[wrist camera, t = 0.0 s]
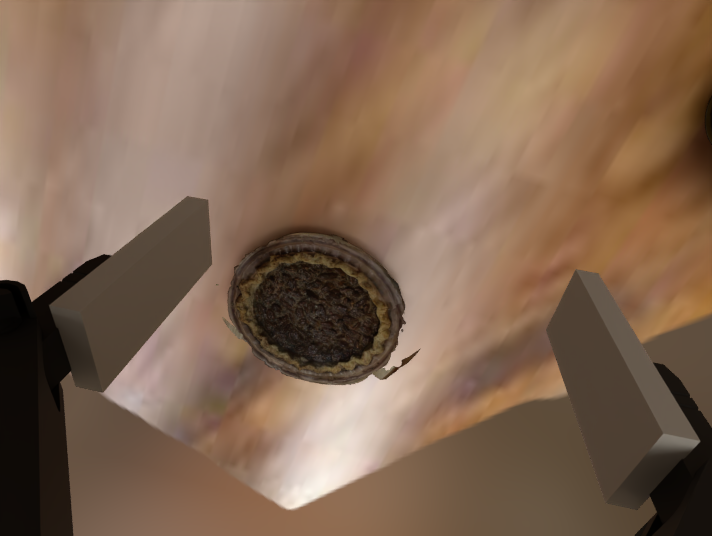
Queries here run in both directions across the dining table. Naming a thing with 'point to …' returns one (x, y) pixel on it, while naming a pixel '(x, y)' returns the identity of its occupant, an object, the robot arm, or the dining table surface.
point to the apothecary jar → (709, 120)
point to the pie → (317, 309)
